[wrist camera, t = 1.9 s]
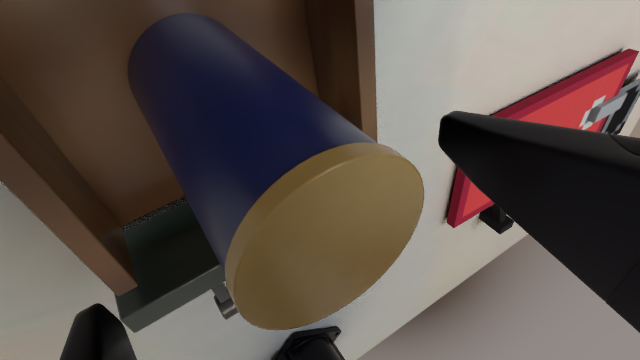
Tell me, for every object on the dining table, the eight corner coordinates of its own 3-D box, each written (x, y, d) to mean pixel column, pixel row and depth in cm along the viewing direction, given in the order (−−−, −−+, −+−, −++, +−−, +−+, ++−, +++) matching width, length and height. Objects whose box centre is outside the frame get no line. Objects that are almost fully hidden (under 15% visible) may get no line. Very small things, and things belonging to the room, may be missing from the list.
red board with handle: (606, 141, 50) (664, 27, 40) (628, 151, 48) (695, 34, 39) (438, 243, 40) (461, 125, 30) (458, 261, 38) (489, 141, 28)
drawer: (344, 197, 25) (388, 242, 22) (156, 303, 21) (179, 375, 18) (290, -246, 11) (387, -285, 8) (-274, -178, 8) (-465, -205, 5)
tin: (267, 45, 15) (455, 180, 9) (218, 141, 17) (351, 321, 10) (154, -17, 12) (320, 123, 5) (104, 108, 13) (191, 343, 7)
